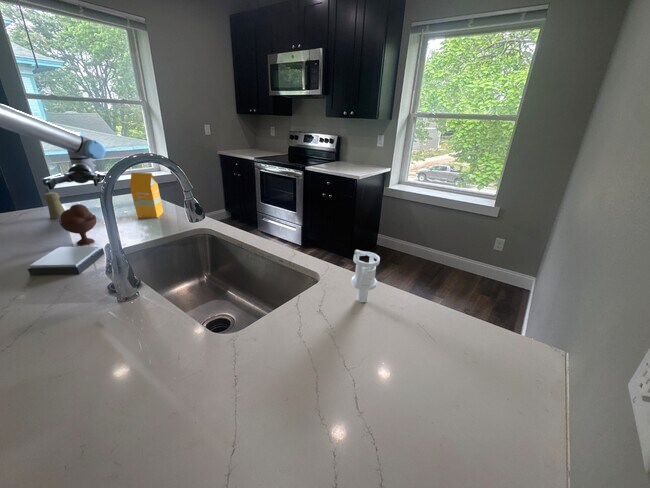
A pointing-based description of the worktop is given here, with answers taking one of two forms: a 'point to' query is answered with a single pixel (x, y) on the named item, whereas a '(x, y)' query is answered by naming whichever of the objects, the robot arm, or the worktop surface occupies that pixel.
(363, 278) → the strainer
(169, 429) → the worktop surface
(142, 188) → the orange juice
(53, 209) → the cork
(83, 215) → the ice cream bowl
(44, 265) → the scale
